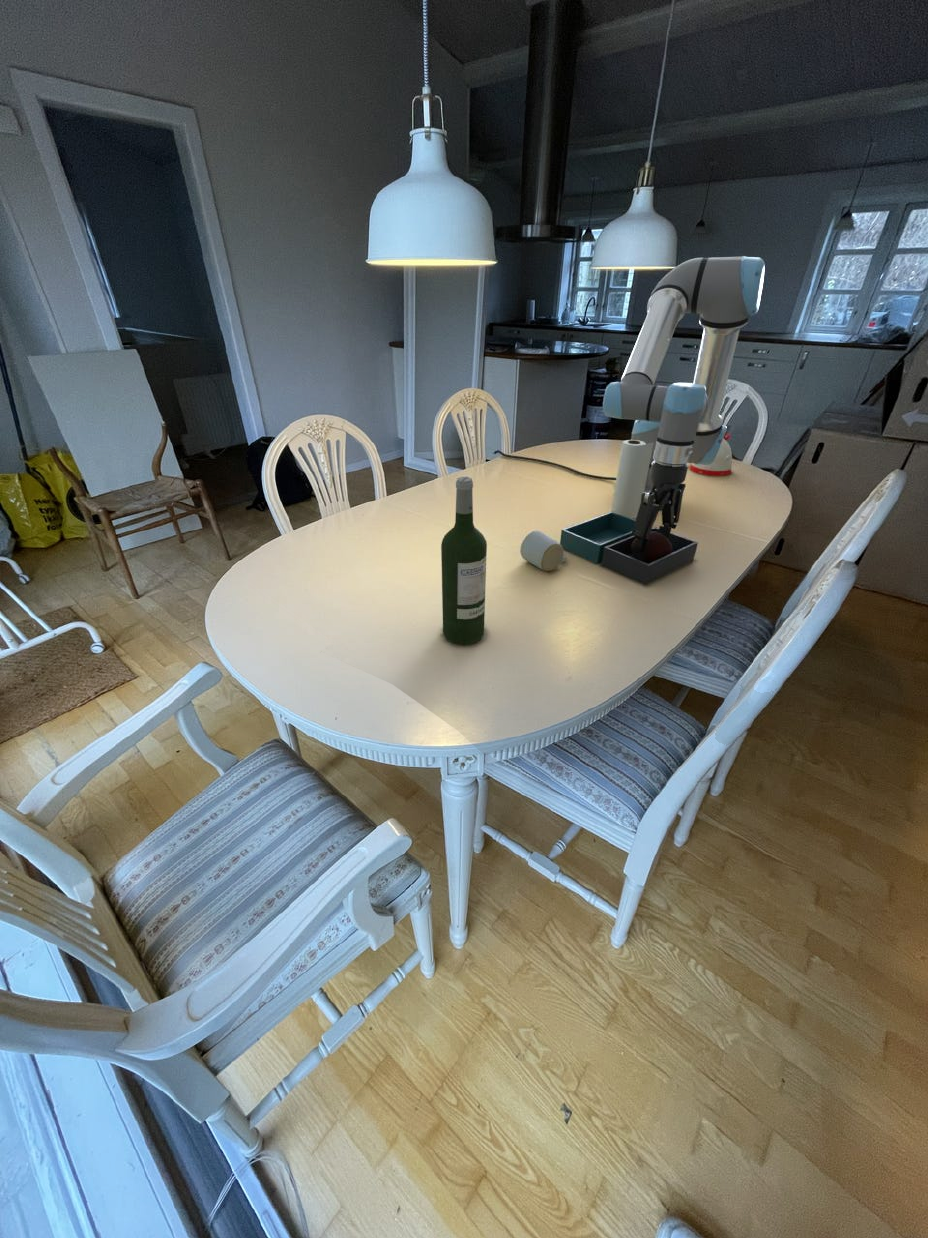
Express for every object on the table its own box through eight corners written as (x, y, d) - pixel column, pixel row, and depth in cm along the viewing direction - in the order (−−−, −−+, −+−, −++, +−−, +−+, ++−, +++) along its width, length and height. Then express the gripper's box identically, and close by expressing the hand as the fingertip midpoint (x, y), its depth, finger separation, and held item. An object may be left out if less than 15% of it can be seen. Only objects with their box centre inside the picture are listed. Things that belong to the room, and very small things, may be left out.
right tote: (601, 565, 122) (604, 547, 119) (650, 544, 132) (654, 526, 130) (644, 585, 114) (649, 565, 111) (693, 560, 124) (698, 542, 122)
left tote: (559, 547, 130) (561, 529, 128) (608, 528, 141) (611, 511, 138) (597, 564, 122) (600, 545, 120) (646, 542, 133) (650, 525, 130)
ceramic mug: (541, 576, 117) (545, 545, 113) (518, 563, 122) (521, 533, 118) (574, 565, 122) (578, 535, 118) (550, 553, 128) (554, 524, 124)
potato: (667, 572, 118) (675, 541, 114) (626, 565, 121) (632, 535, 117) (668, 557, 125) (675, 528, 120) (629, 552, 127) (635, 523, 123)
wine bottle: (470, 650, 93) (472, 490, 76) (434, 637, 96) (430, 481, 80) (491, 630, 98) (498, 476, 82) (457, 618, 102) (457, 468, 86)
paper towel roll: (606, 516, 148) (618, 441, 137) (616, 511, 152) (629, 437, 140) (628, 523, 144) (643, 446, 133) (638, 517, 148) (653, 442, 136)
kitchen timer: (683, 465, 193) (693, 423, 185) (717, 464, 195) (728, 423, 187) (701, 476, 182) (712, 432, 174) (737, 474, 183) (750, 431, 175)
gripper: (657, 475, 102) (636, 575, 114) (711, 457, 113) (686, 550, 125) (626, 466, 107) (609, 563, 119) (681, 450, 118) (660, 541, 130)
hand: (649, 557), depth 122 cm, fingers closed on potato, 8 cm apart
